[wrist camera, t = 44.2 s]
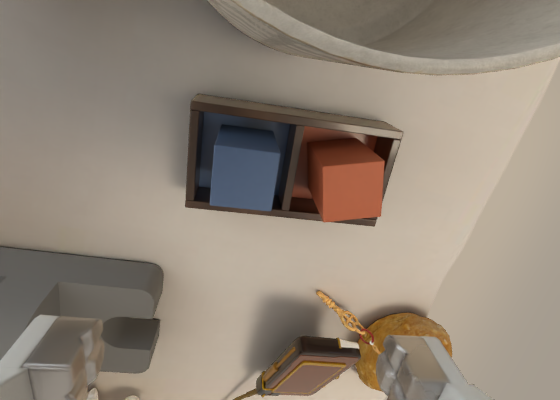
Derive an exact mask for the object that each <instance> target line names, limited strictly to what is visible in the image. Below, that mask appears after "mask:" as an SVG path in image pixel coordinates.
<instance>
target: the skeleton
mask: <svg viewBox="0 0 560 400" xmlns="http://www.w3.org/2000/svg"><path fill="white" fill-rule="evenodd" d="M87 400H98V393H97V389H96V388H93V389H92V390H90V391H89V392H88V398H87ZM125 400H140V399H139V398H138V397H137V396H129V397H127V398H126V399H125Z"/></svg>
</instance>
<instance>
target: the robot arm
mask: <svg viewBox="0 0 560 400" xmlns="http://www.w3.org/2000/svg"><path fill="white" fill-rule="evenodd" d="M102 331H103V323H102V320H101V319H94V318H82V317H69V316H52V315H39V316H37V317H36V318H34V319H33V321H32V322H31V323H30V324H29V326H28V327H27V328H26V329H25V331H24V332H23V333H22V334H21V335H20V337H19V338H18V339H17V340H16V342H15V343H14V344H13V345H12V347H11V348H10V349H9V350H8V352H7V353H6V354H5V355H4V357H3V358H2V359H1V360H0V400H87V398H88V385H89V384H91V383H92V382H93V381H95V380H96V378H97V376H98V374H99V372H100V369H101V366H102V362H103V359H104V351H105V346H104V341H103V340H102V339H101V338H100V335H101V333H102ZM383 346H384V349H385V351H383V352H382V353H381V354H379V355H378V359H377V362H376V376H377V381H378V384H379V387H380V389H381V390H382V391H383V392H384V393H385V394H386V395H387V396H388V399H387V400H494V399H492V398H491V397H490V396H488V395H487V394H486V393H484V392H483V391H482V390H480V389H479V388H478V387H476V386H475V385H474V384H468V382H467V381H466V379H465V378H464V376H463V375H462V373H461V372H460V370H459V369H458V367H457V366H456V364H455V363H454V361H453V359H452V358H451V356H450V355H449V353H448V352H447V350H446V349H445V347H444V346H443V344H442V343H441V341H440V340H439V339H438V338H436V337H428V336H404V335H388V336H386V337H385V339H384V342H383Z"/></svg>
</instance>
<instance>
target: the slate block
mask: <svg viewBox="0 0 560 400" xmlns="http://www.w3.org/2000/svg"><path fill="white" fill-rule="evenodd" d="M280 155H281V154H280V150H279V147H278V144H277V141H276V138H275V135H274V132H273V131H268V130H260V129H253V128H246V127H238V126H231V125H224V124H222V125H221V127H220V130H219V133H218V136H217V139H216V142H215V145H214V155H213V167H212V179H211V192H210V205H212V206H222V207H231V208H241V209H251V210H261V211H271V210H272V205H273V198H274V192H275V186H276V180H277V174H278V168H279V162H280Z"/></svg>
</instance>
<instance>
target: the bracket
mask: <svg viewBox="0 0 560 400" xmlns="http://www.w3.org/2000/svg"><path fill="white" fill-rule="evenodd" d="M162 288H163V271H162V269H161V268H160V267H159V266H157V265H155V264H151V263H141V262H132V261H123V260H114V259H105V258H96V257H87V256H77V255H68V254H59V253H50V252H41V251H32V250H23V249H13V248H4V247H0V360H1V359H2V358H3V357H4V355H5V354H6V353H7V352H8V350H9V349H10V348H11V347H12V345H13V344H14V343H15V342H16V340H17V339H18V338H19V337H20V335H21V334H22V333H23V332H24V331H25V329H26V328H27V327H28V326H29V324H30V323H31V322H32V321H33V319H34V318H36V317H37V316H39V315H52V316H69V317H82V318H94V319H101V320H102V323H103V331H102V333H101V335H100V338H101V339H102V340H103V341H104V346H105V351H104V359H103V362H102V366H101V369H100V371H103V372H120V373H142V372H145V371H146V370H147V369H148V368H149V366H150V362H151V359H152V356H153V353H154V349H155V346H156V343H157V339H158V336H159V327H160V321H159V320H147V319H153V317H154V314H155V311H156V308H157V305H158V302H159V299H160V296H161V294H162ZM129 317H131V318H129ZM135 318H143V319H135Z"/></svg>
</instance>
